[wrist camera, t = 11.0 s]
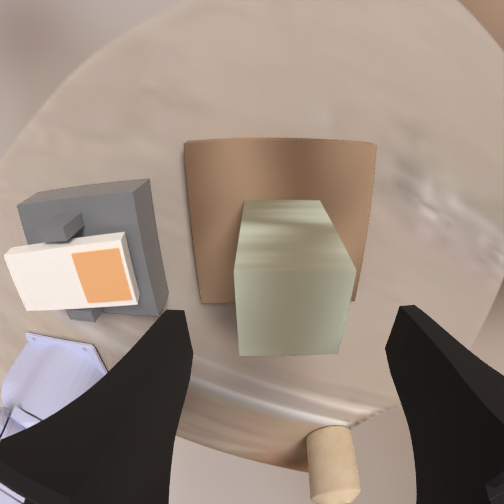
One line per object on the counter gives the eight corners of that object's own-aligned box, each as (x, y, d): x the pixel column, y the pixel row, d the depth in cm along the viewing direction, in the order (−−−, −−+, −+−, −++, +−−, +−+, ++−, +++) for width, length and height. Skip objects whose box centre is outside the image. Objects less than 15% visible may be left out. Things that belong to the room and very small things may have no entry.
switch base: (66, 287, 20) (39, 323, 16) (38, 192, 16) (-3, 217, 12) (168, 292, 20) (150, 338, 16) (149, 178, 16) (116, 205, 12)
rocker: (32, 301, 15) (26, 311, 14) (11, 247, 13) (3, 256, 13) (139, 294, 16) (137, 305, 16) (124, 231, 15) (120, 240, 14)
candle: (296, 438, 30) (300, 511, 22) (331, 420, 28) (342, 500, 19) (325, 446, 32) (332, 512, 23) (359, 430, 30) (371, 500, 21)
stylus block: (246, 265, 18) (239, 355, 11) (244, 199, 16) (234, 271, 10) (314, 265, 17) (338, 353, 11) (319, 200, 16) (356, 270, 9)
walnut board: (203, 293, 20) (201, 302, 19) (188, 141, 15) (183, 143, 14) (351, 292, 20) (354, 301, 19) (370, 142, 15) (376, 145, 14)
